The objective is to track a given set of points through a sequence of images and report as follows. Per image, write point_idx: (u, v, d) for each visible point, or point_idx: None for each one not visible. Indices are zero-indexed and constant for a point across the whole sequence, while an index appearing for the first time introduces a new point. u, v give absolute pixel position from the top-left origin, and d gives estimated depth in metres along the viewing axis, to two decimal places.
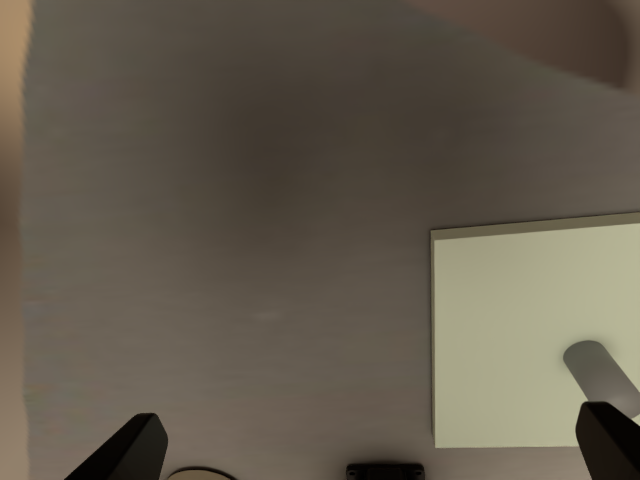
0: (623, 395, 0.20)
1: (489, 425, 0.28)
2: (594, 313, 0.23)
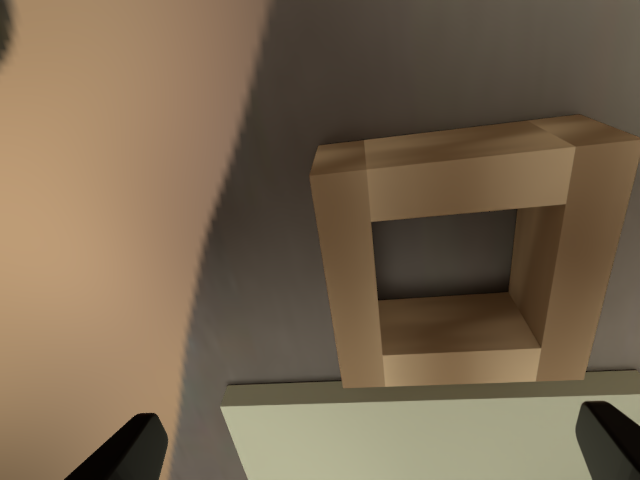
0: None
1: None
2: None
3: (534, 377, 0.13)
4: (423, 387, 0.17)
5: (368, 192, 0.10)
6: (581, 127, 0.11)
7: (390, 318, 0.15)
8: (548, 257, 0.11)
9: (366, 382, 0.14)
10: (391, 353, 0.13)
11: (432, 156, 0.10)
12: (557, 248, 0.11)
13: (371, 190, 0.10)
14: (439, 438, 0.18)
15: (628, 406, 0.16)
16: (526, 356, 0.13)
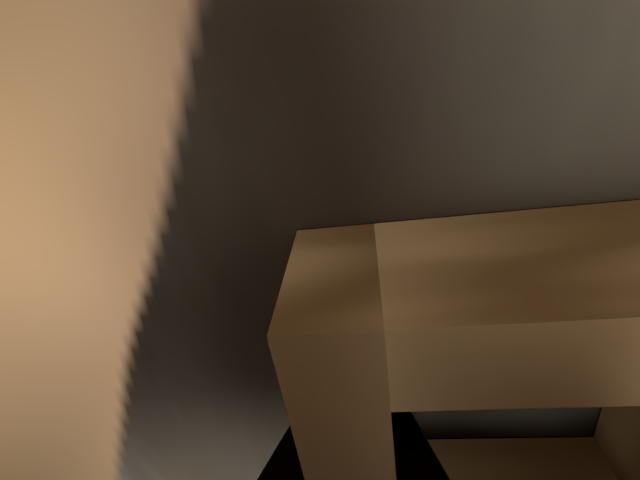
0: None
1: None
2: None
3: None
4: None
5: (387, 367, 0.05)
6: None
7: None
8: None
9: None
10: None
11: (519, 299, 0.05)
12: None
13: (393, 365, 0.05)
14: None
15: None
16: None
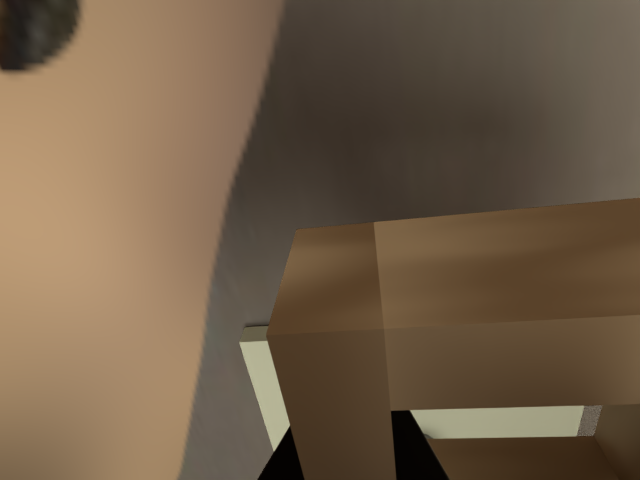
0: None
1: None
2: None
3: None
4: None
5: (387, 365, 0.05)
6: None
7: None
8: None
9: None
10: None
11: (519, 297, 0.05)
12: None
13: (393, 363, 0.05)
14: None
15: None
16: None
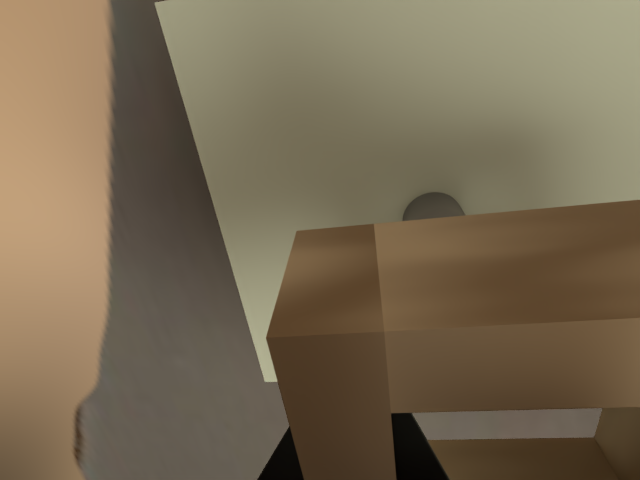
0: None
1: None
2: None
3: None
4: None
5: (387, 368, 0.05)
6: None
7: None
8: None
9: None
10: None
11: (520, 300, 0.05)
12: None
13: (392, 366, 0.05)
14: (453, 43, 0.13)
15: None
16: None
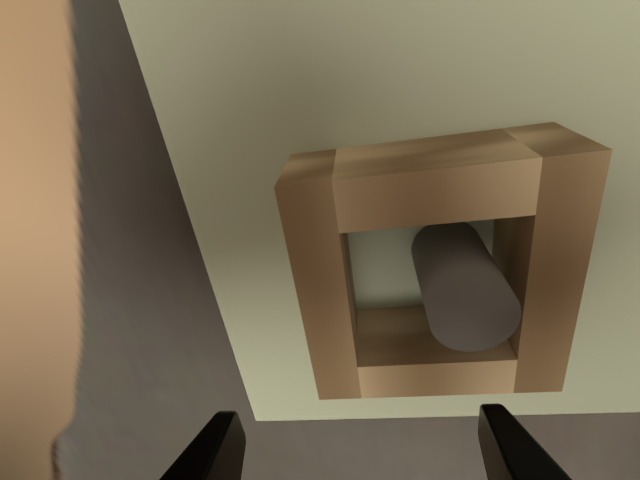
0: (439, 322, 0.11)
1: (613, 349, 0.15)
2: (353, 255, 0.14)
3: (512, 389, 0.13)
4: None
5: (334, 204, 0.10)
6: (552, 136, 0.10)
7: (368, 328, 0.14)
8: (521, 268, 0.11)
9: (342, 394, 0.13)
10: (366, 364, 0.13)
11: (400, 167, 0.10)
12: (528, 259, 0.10)
13: (337, 202, 0.10)
14: (475, 46, 0.11)
15: None
16: (502, 368, 0.12)
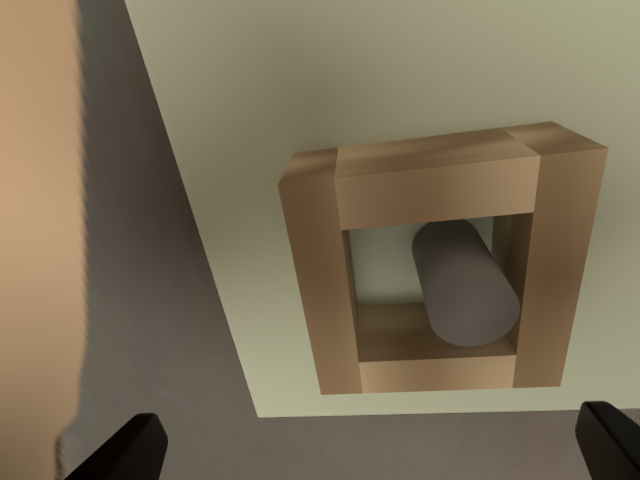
0: (439, 317, 0.11)
1: (611, 345, 0.16)
2: (355, 253, 0.14)
3: (511, 384, 0.13)
4: None
5: (337, 201, 0.10)
6: (550, 135, 0.11)
7: (369, 324, 0.15)
8: (519, 265, 0.11)
9: (344, 389, 0.14)
10: (368, 360, 0.13)
11: (400, 165, 0.10)
12: (527, 256, 0.11)
13: (340, 199, 0.10)
14: (474, 47, 0.11)
15: None
16: (502, 363, 0.13)
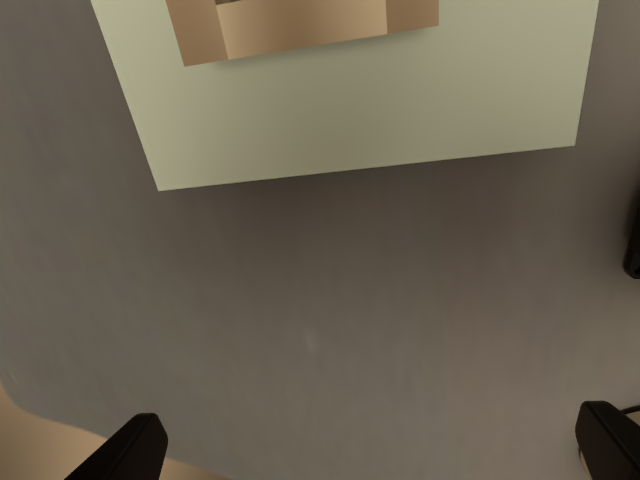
0: None
1: (518, 51, 0.14)
2: None
3: (387, 30, 0.12)
4: None
5: None
6: None
7: None
8: None
9: (207, 54, 0.12)
10: (226, 3, 0.12)
11: None
12: None
13: None
14: None
15: None
16: None
